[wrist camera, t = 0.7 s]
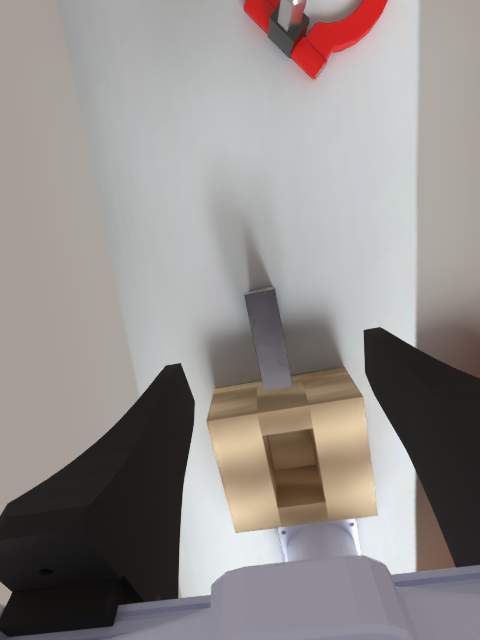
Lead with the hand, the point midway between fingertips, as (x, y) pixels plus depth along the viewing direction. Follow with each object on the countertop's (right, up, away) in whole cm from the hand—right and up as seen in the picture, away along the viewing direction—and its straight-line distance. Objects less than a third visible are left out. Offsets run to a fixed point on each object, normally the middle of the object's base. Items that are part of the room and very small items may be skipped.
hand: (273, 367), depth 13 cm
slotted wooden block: (+3, -9, +19) cm, 21 cm away
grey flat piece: (+1, +2, +16) cm, 16 cm away
